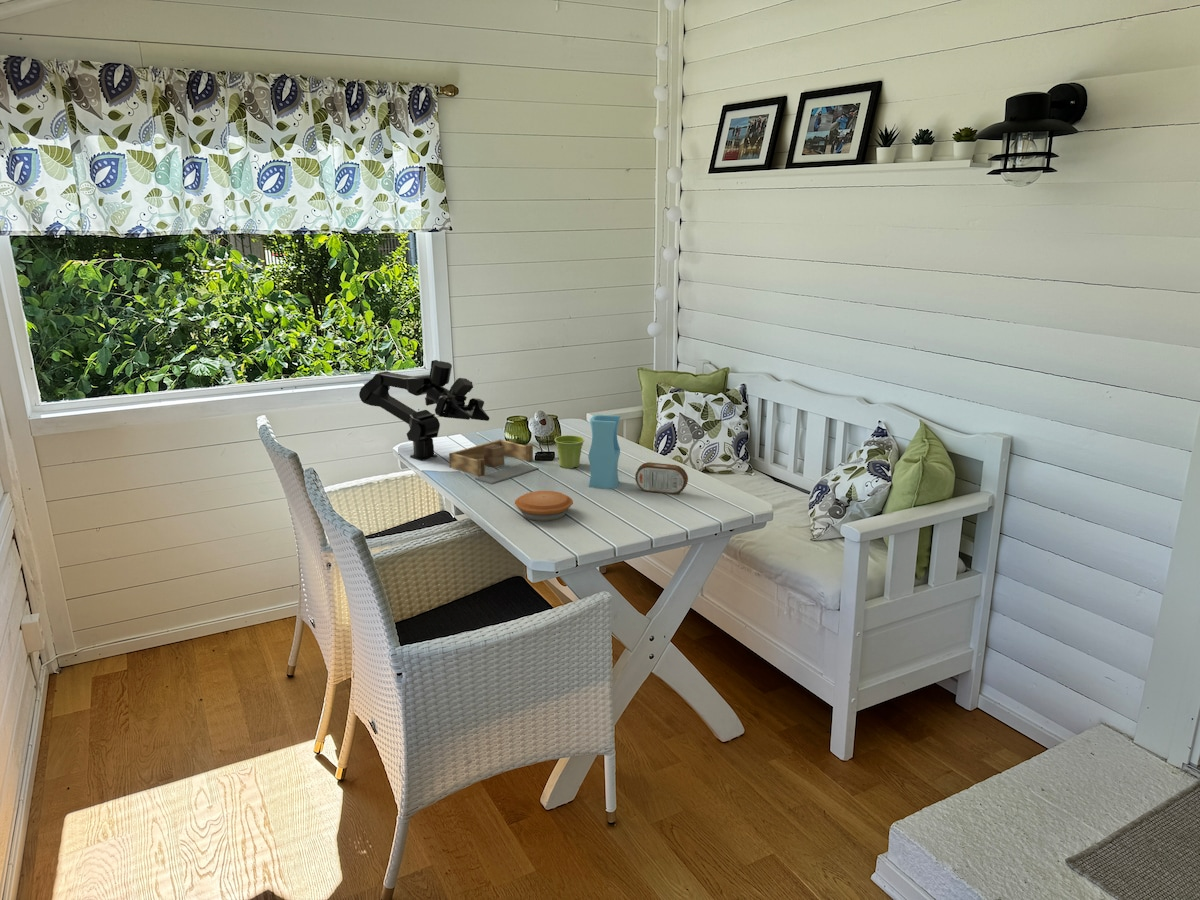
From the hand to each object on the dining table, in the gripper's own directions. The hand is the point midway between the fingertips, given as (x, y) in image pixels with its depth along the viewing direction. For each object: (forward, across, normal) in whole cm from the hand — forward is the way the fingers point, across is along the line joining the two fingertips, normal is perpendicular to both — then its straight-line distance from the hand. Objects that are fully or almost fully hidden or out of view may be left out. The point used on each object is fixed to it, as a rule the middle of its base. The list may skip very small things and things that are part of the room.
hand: (479, 418), depth 266 cm
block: (+4, +11, +14) cm, 18 cm away
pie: (+43, -16, +9) cm, 47 cm away
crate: (+2, +12, +14) cm, 18 cm away
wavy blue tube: (+41, +14, +2) cm, 43 cm away
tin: (+58, +16, -4) cm, 60 cm away
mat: (+13, +6, +12) cm, 19 cm away
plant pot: (+22, +23, +5) cm, 32 cm away
